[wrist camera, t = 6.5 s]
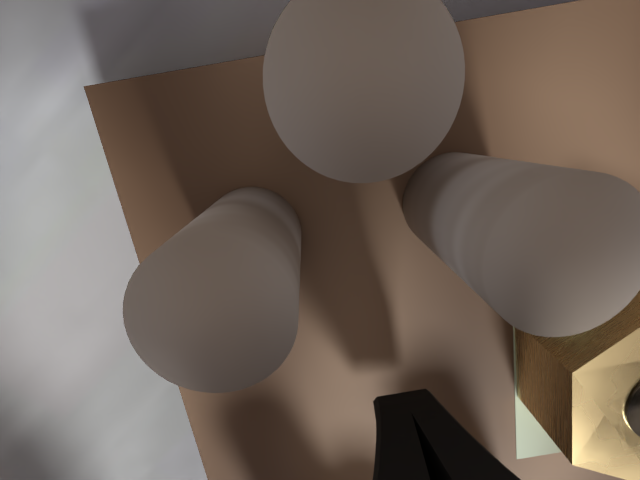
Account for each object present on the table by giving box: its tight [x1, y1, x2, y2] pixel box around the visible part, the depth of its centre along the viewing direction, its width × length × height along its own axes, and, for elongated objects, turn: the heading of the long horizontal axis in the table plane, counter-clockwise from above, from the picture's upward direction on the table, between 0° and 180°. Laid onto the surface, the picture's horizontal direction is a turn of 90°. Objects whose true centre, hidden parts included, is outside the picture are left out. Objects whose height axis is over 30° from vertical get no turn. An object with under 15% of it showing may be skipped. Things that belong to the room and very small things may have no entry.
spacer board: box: [84, 0, 640, 480], centre depth 10 cm, size 15×18×6 cm
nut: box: [514, 290, 640, 480], centre depth 10 cm, size 4×5×2 cm
